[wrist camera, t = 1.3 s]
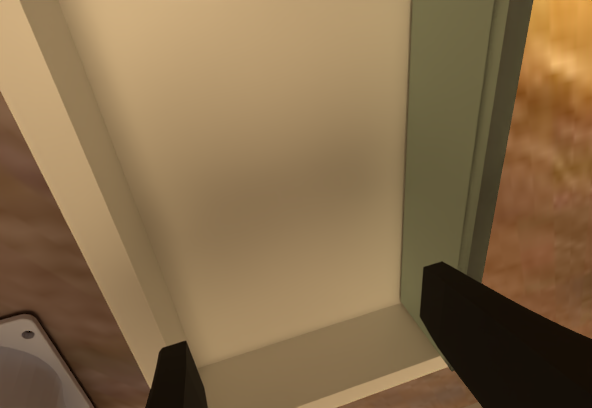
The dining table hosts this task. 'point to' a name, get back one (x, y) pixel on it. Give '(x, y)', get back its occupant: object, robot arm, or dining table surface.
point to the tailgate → (457, 133)
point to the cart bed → (232, 182)
